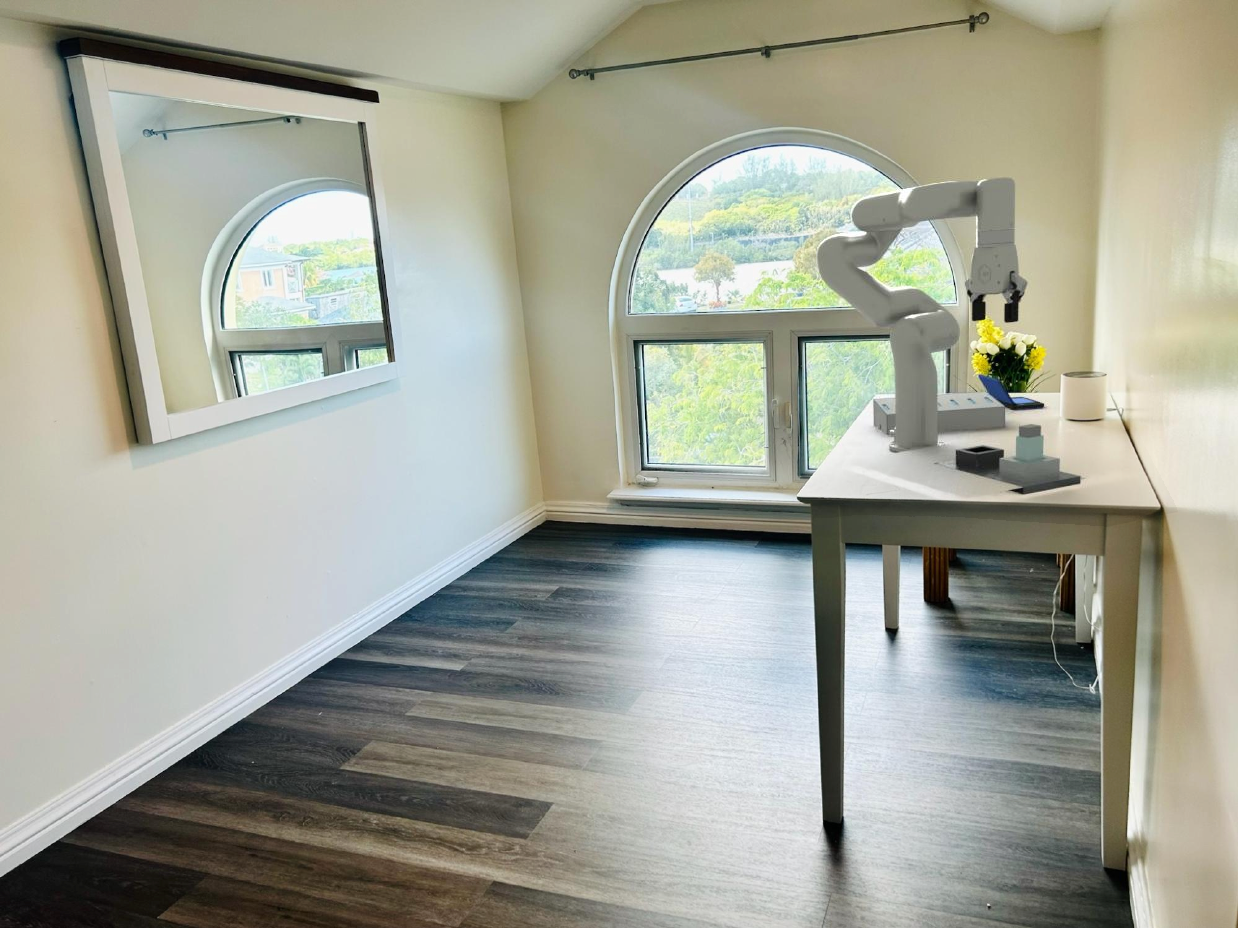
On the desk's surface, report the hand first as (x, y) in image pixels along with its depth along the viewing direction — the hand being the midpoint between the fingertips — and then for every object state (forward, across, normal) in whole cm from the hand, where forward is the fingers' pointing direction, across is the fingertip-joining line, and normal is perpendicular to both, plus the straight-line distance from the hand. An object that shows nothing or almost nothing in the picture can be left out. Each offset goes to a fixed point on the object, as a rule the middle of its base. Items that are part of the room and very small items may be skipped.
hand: (994, 321), depth 205 cm
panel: (+30, +13, -9) cm, 34 cm away
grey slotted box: (+31, -40, +17) cm, 53 cm away
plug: (+29, +20, -9) cm, 36 cm away
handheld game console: (+31, -50, +50) cm, 77 cm away
